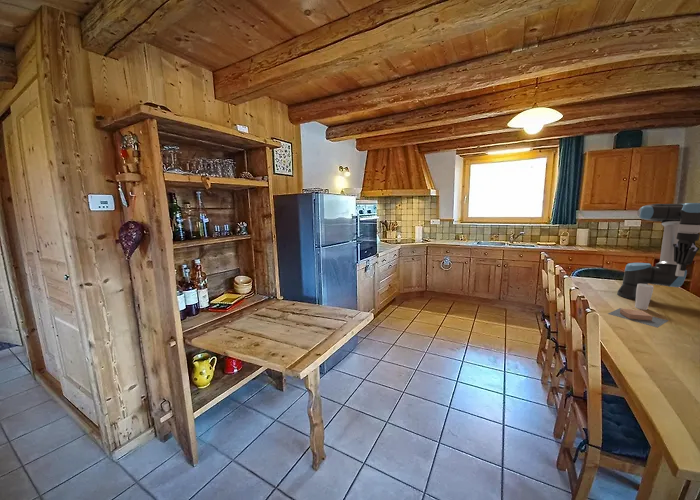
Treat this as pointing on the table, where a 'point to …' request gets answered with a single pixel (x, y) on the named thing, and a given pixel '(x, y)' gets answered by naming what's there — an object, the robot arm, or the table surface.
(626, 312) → the tile
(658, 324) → the mat
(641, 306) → the white rectangular block
